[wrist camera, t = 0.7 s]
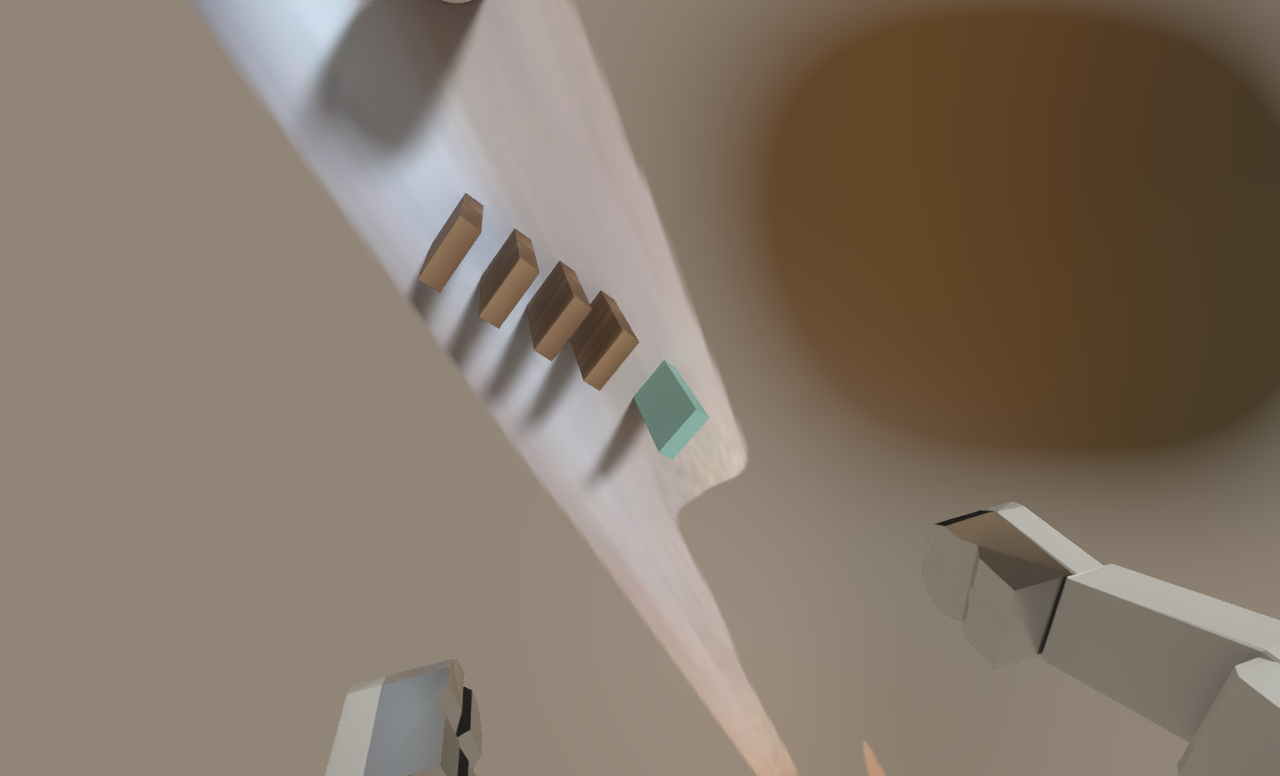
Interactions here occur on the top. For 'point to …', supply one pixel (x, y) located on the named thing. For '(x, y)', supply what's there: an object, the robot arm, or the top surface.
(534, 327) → the domino
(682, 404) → the domino
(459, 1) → the mug
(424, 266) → the domino
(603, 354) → the domino
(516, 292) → the domino
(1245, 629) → the robot arm
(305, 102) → the top surface
